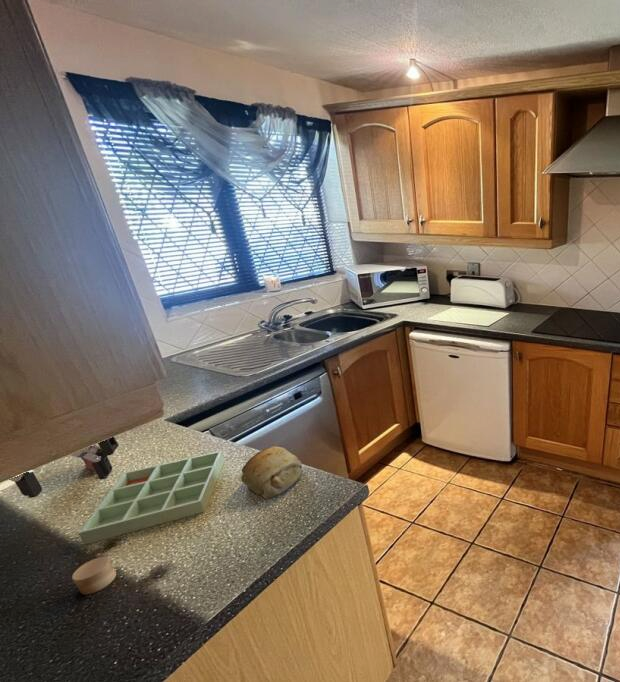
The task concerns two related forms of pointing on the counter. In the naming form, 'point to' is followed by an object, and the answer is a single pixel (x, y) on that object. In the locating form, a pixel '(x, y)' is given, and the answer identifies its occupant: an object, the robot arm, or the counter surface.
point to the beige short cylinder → (94, 575)
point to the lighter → (89, 466)
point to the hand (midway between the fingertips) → (71, 485)
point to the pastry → (271, 471)
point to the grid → (154, 496)
